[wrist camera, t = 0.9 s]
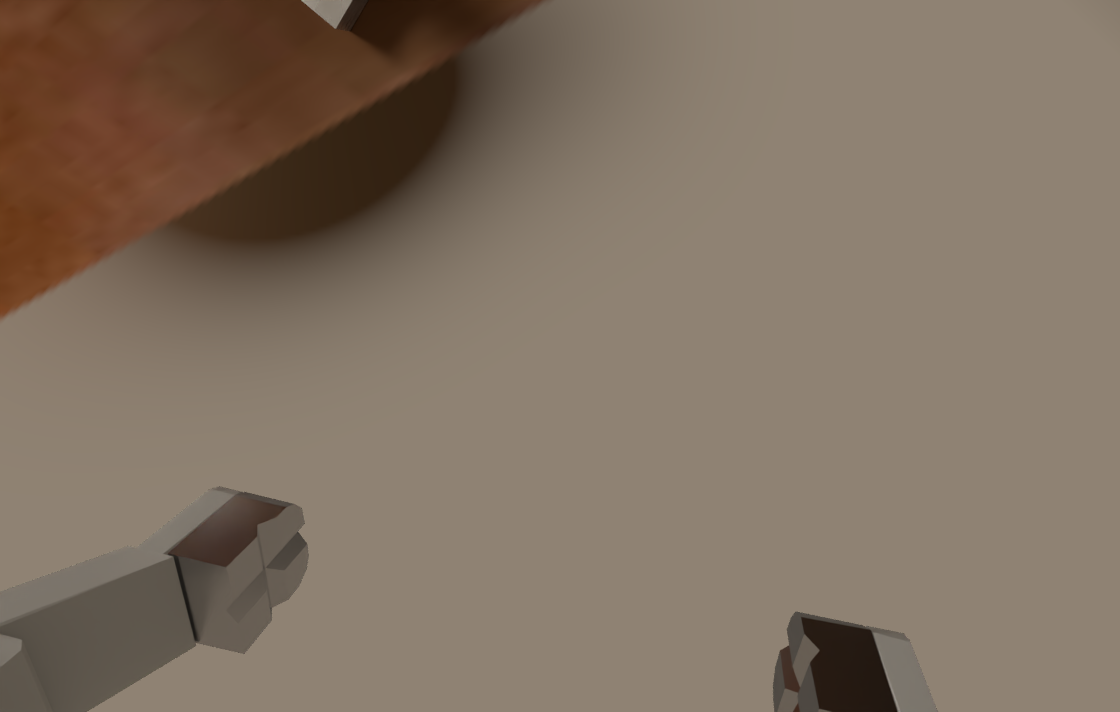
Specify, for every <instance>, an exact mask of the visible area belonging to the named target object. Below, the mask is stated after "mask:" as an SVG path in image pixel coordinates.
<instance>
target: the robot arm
mask: <svg viewBox="0 0 1120 712" xmlns="http://www.w3.org/2000/svg"><path fill="white" fill-rule="evenodd" d="M304 524H305V523H304V517H303V512H302V508H301V507H299V506H297V505H295V504H292V503H288V502H284V501H279V500H276V499H271V498H267V497H263V496H259V495H255V494H251V493H247V492H240V491H236V490H232V489H228V488H224V487H220V486H219V487H216V488H212V489H209V490H208V491H207V492H205V493H204V494H203V495H201V496H200V497H199V498H198V499H197V500H195V501H194V502H193V503H191V504H190V505H189V506H188V507H186V508H185V509H184V510H183V511H181V512H180V513H179V514H178V515H176V517H174V518H173V519H172V520H170V521H169V522H168V523H167V524H165V525H164V526H163V527H162V528H160V529H159V530H158V531H157V532H155V533H154V534H153V535H152V536H150V537H149V538H148V539H147V540H145V541H144V542H143V543H142V544H140V545H139V546H138V547H137V548H136V547H131V546H126V547H123V548H121V549H118V550H115V551H112V552H109V553H107V554H104V555H101V556H98V557H96V558H93V559H90V560H87V561H85V562H82V563H79V564H76V565H74V566H70V567H68V568H65V569H62V570H60V571H57V572H54V573H51V574H48V575H45V576H43V577H40V578H37V579H35V580H32V581H29V582H26V583H23V584H21V585H18V586H15V587H12V588H9V589H7V590H4V591H1V592H0V712H87V711H89V710H90V709H92V708H94V707H95V706H97V705H99V704H100V703H102V702H104V701H105V700H107V699H109V698H110V697H112V696H114V695H115V694H117V693H118V692H120V691H122V690H123V689H125V688H127V687H129V686H130V685H132V684H134V683H135V682H137V681H139V680H140V679H142V678H143V677H145V676H147V675H149V674H150V673H152V672H153V671H155V670H157V669H158V668H160V667H162V666H163V665H165V664H167V663H168V662H170V661H172V660H173V659H175V658H177V657H178V656H180V655H182V654H183V653H185V652H187V651H188V650H190V649H192V648H193V647H195V646H196V643H199V644H203V645H208V646H212V647H216V648H221V649H225V650H229V651H234V652H238V653H243V654H245V652H246V651H247V650H248V649H249V648H250V646H251V645H252V644H253V643H254V641H255V640H256V639H257V638H258V637H259V635H260V634H261V633H262V632H263V630H264V629H265V628H266V627H267V625H268V624H269V623H270V622H271V620H272V607H274V606H276V605H278V604H280V603H282V602H284V601H286V600H288V599H289V598H290V597H291V596H292V594H293V593H294V592H295V591H296V589H297V588H298V587H299V585H300V583H301V581H302V578H303V576H304V574H305V571H306V569H307V563H308V546H307V543H306V542H305V540H304V539H303V538H302V536H301V535H300V534H299V533H298V531H299V529H300V528H301V527H302V526H303V525H304ZM787 634H788V640H789V646H787V647H786V648H784V649H782V650H780V652H779V656H778V660H777V663H776V666H775V674H774V682H773V701H774V712H938V711H937V708H936V706H935V703H934V701H933V698H932V696H931V693H930V690H929V688H928V686H927V683H926V680H925V678H924V675H923V673H922V670H921V668H920V665H919V663H918V660H917V657H916V655H915V652H914V650H913V647H912V645H911V642H910V640H909V639H908V638H907V637H906V636H905V634H904V633H899V632H894V631H889V630H884V629H879V628H874V627H869V626H866V627H865V626H863V625H858V624H854V623H849V622H844V621H839V620H834V619H830V618H825V617H820V616H815V615H810V614H805V613H800V612H795V613H794V614H793V616H792V617H791V619H790V622H789V625H788V628H787Z"/></svg>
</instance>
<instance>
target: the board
mask: <svg viewBox="0 0 1120 712" xmlns="http://www.w3.org/2000/svg"><path fill="white" fill-rule="evenodd" d="M301 1H303V2H304V3H305V4H306V5H307V6H309V7H310V8H311V9H312V10H313V11H315V12H316V13H317V14H318V15H320V16H321V17H322V18H323V19H324V20H326V21H327V22H328V23H329V24H330V25H332V26H333V27H334V28H335V29H339V30H345V31H350V30H351V29H352V27H353V25H354V24H355V22H356V20H357V19H358V17H359V15H360V13H361V12H362V10H363V8H364V7H365V5H366V3H367V2H368V0H301Z"/></svg>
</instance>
